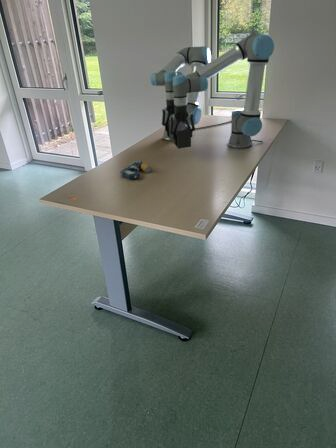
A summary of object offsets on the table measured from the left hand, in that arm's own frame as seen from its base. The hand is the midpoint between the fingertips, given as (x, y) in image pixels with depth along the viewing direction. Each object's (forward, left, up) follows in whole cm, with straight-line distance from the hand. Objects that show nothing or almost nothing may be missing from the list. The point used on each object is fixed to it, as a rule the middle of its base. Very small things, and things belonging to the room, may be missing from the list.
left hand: (174, 134), depth 219 cm
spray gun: (+37, +20, -10) cm, 44 cm away
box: (+3, +10, -1) cm, 10 cm away
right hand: (+5, +20, 0) cm, 20 cm away
